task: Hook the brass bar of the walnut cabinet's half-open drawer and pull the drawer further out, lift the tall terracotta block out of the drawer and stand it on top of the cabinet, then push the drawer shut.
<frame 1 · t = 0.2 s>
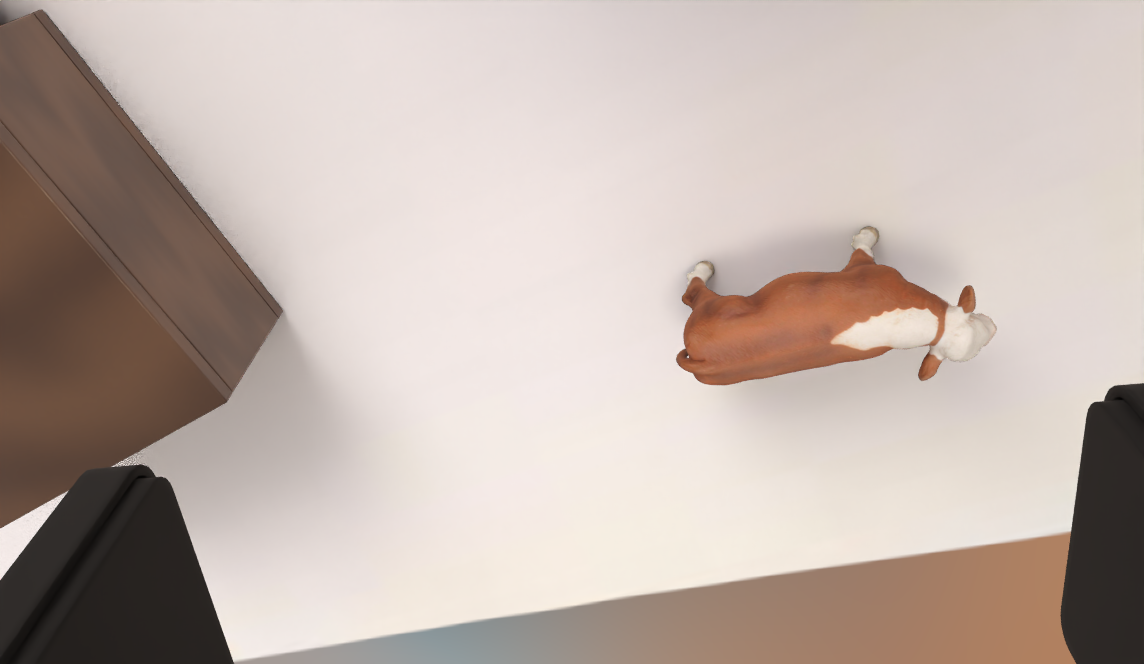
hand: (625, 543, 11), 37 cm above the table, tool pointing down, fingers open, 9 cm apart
cabinet: (62, 239, 49), on the table
bull figurine: (808, 271, 49), on the table
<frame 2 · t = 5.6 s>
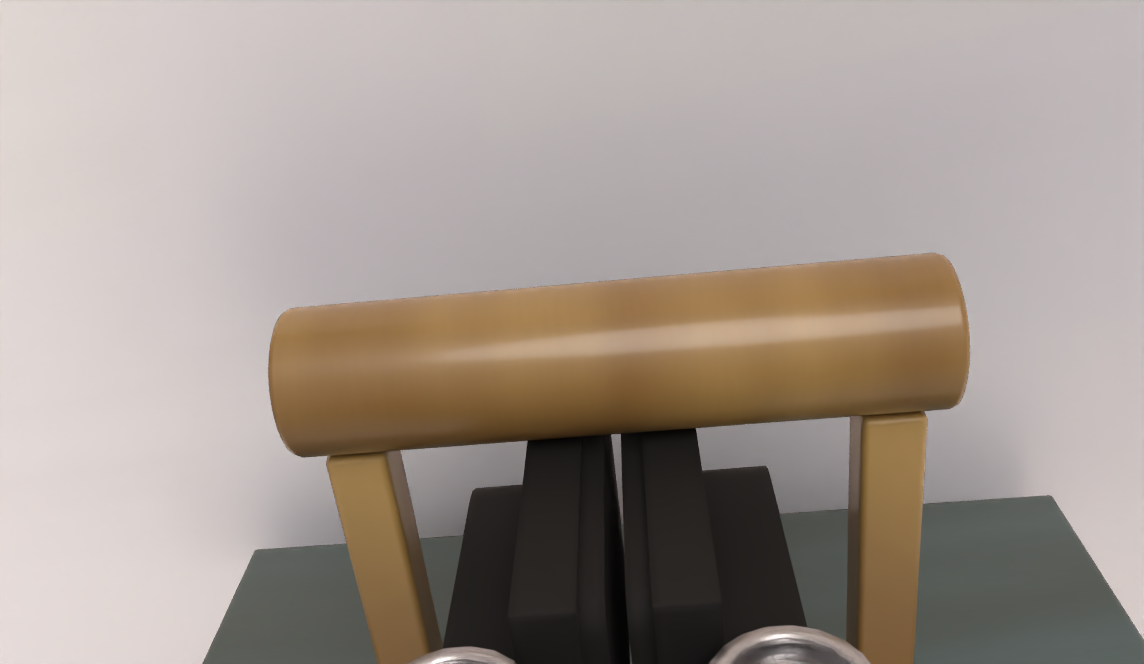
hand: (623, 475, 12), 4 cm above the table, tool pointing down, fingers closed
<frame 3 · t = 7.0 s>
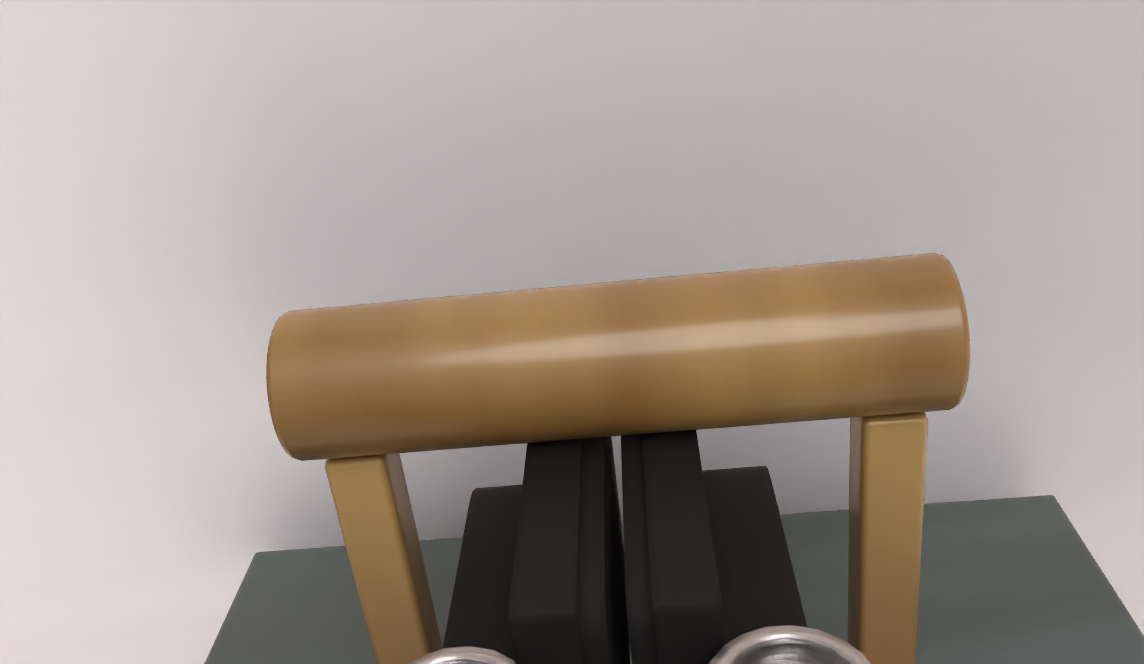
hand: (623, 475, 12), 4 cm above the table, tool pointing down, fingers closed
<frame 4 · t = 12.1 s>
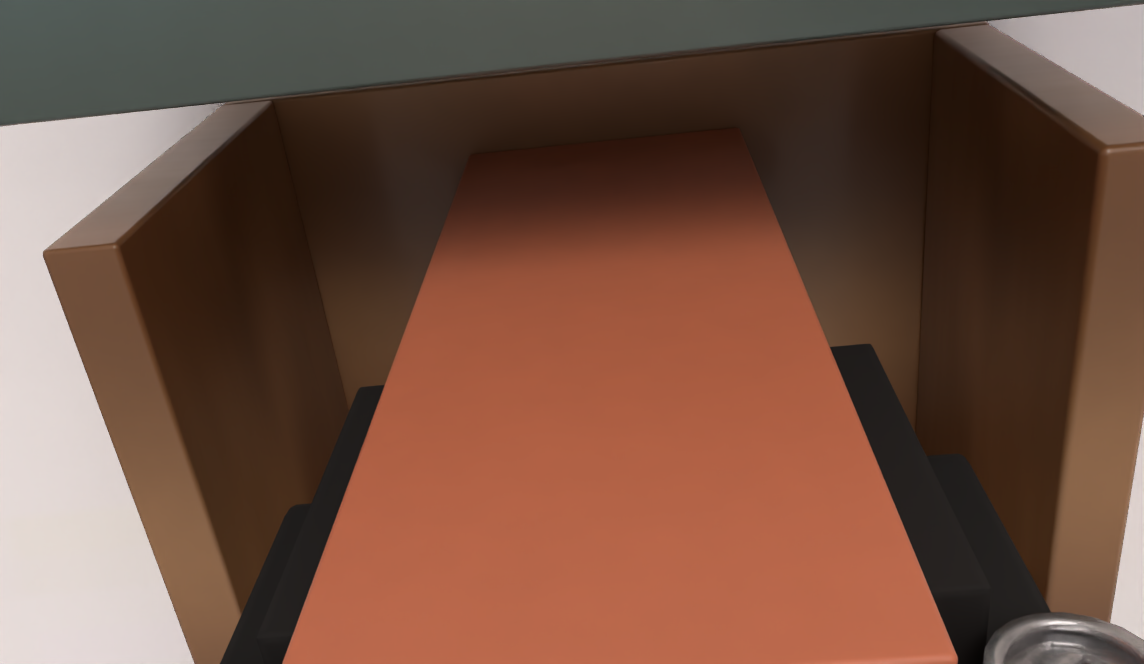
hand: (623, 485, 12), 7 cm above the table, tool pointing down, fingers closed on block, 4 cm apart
drawer: (610, 268, 14), point 4 cm above the table, slide at 11.7 cm, touching block
block: (615, 264, 16), point 2 cm above the table, touching drawer, gripper
when the fingers open (14 cm above the table, at t = 17.8 s): block stays where it is, resting on cabinet.
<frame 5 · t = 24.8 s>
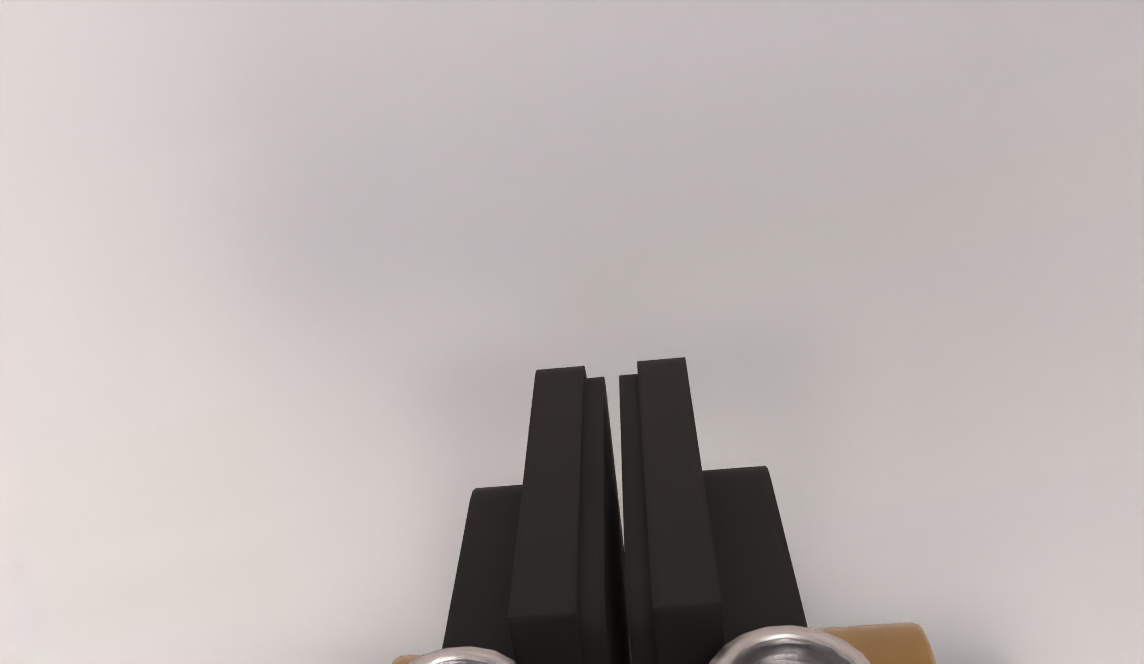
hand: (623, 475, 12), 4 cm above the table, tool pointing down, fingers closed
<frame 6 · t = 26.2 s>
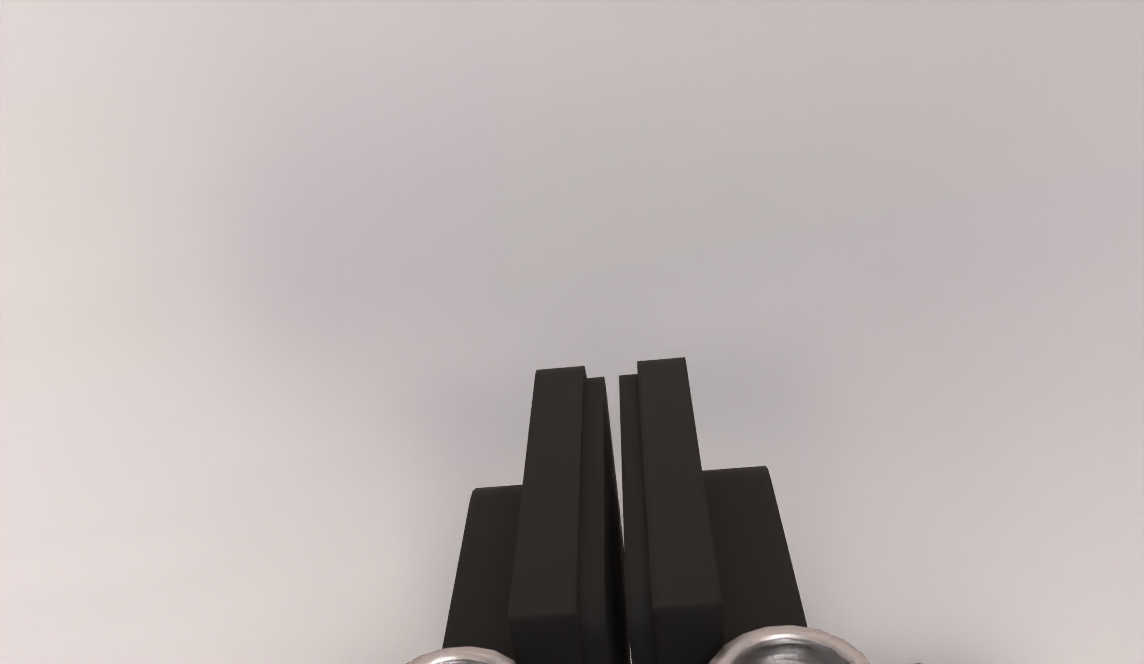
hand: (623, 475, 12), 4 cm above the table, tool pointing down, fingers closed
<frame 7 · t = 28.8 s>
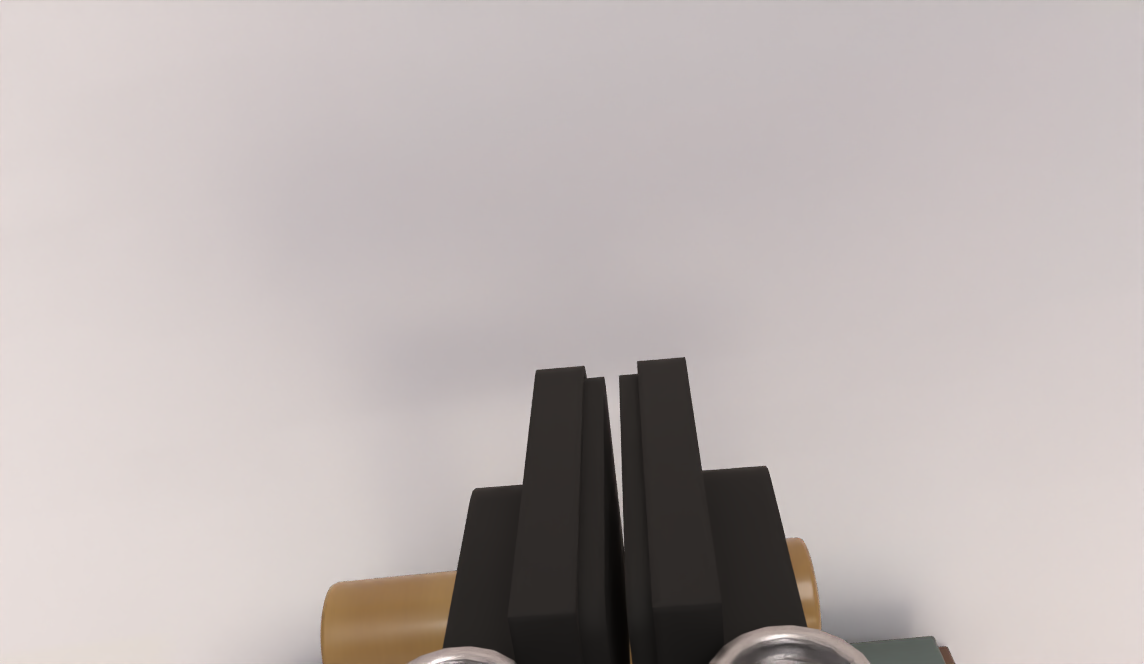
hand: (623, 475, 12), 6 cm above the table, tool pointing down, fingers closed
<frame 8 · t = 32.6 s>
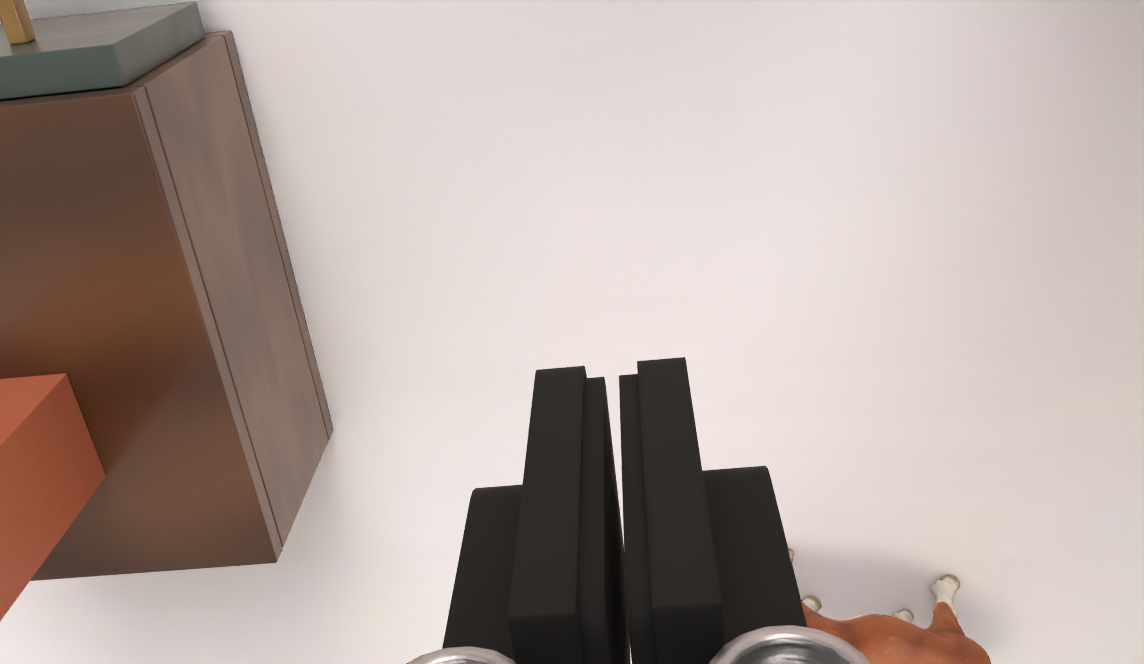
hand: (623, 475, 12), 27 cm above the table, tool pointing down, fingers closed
cabinet: (117, 265, 41), on the table
bull figurine: (876, 591, 47), on the table
drawer: (19, 183, 35), point 4 cm above the table, slide at 0.0 cm, touching cabinet
block: (28, 430, 34), point 9 cm above the table, touching cabinet
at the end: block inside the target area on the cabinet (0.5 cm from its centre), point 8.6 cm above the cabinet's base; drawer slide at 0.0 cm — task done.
